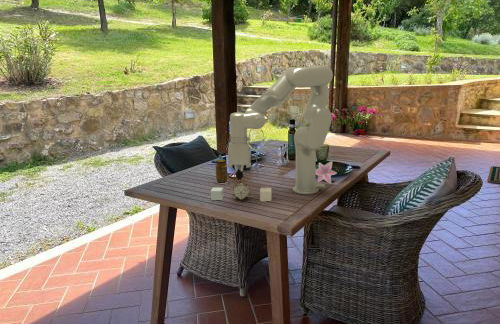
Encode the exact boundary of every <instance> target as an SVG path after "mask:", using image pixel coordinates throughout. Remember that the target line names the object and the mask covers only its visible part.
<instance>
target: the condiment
mask: <svg viewBox="0 0 500 324" xmlns="http://www.w3.org/2000/svg"><path fill="white" fill-rule="evenodd" d="M215 164H216V165H215V180H216V181H217V182H218V183H225V182H227V180H228V181H229V179H228V164H227V160H225V159H217V160H216V161H215ZM225 184H226V183H225Z"/></svg>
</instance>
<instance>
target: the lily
mask: <svg viewBox="0 0 500 324" xmlns="http://www.w3.org/2000/svg"><path fill="white" fill-rule="evenodd" d="M332 167H333V161H329V162H327V163H326V164H325V165H324V164H322V163H321V162H318V168H315V176H317V183H321V182H322V181H325V182H326V183H328V184H330V185H331V184H332V177H331V176H334V175H336V174H337V171H335V170H332Z"/></svg>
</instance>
